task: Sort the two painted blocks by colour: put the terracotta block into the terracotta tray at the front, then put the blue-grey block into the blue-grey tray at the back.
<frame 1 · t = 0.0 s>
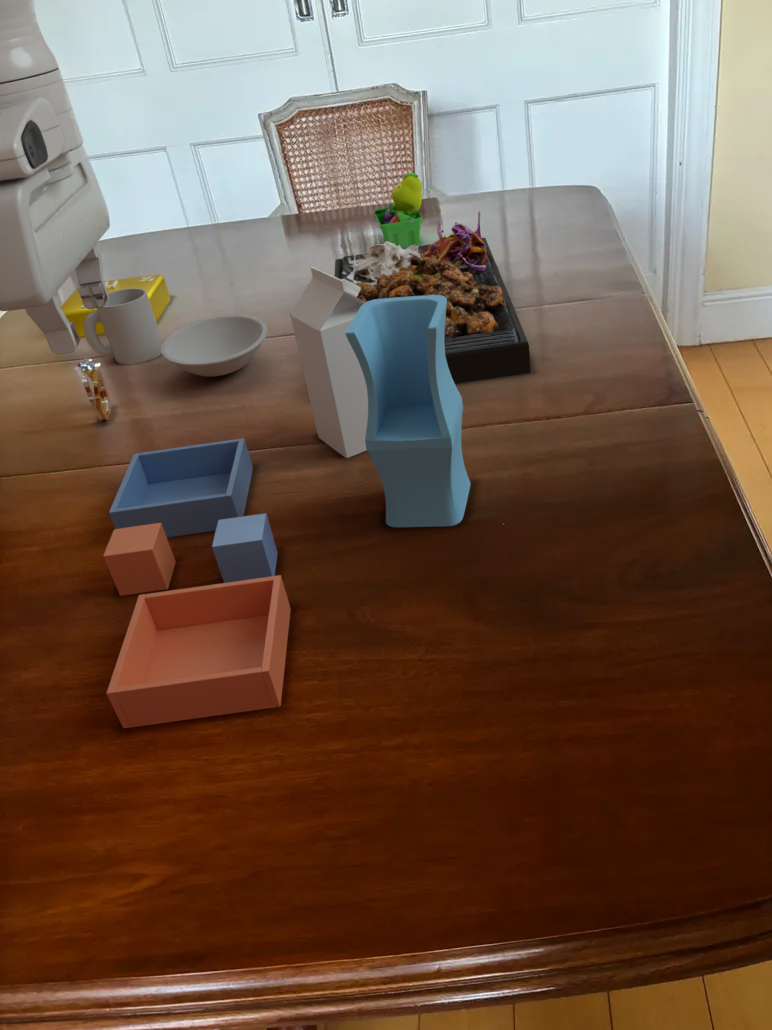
hand: (83, 326, 69), 25 cm above the table, tool pointing down, fingers open, 8 cm apart
food platter: (422, 326, 129), on the table
blue-grey tray: (191, 507, 95), on the table
ring: (108, 420, 116), on the table
cup: (132, 360, 132), on the table
terracotta block: (150, 582, 85), on the table
dish: (224, 373, 124), on the table
milk carton: (360, 441, 103), on the table
blue wingback chair: (428, 510, 89), on the table
blue-grey block: (253, 573, 84), on the table
terracotta tray: (213, 669, 74), on the table
fruit basket: (404, 243, 162), on the table
element tile: (120, 320, 147), on the table
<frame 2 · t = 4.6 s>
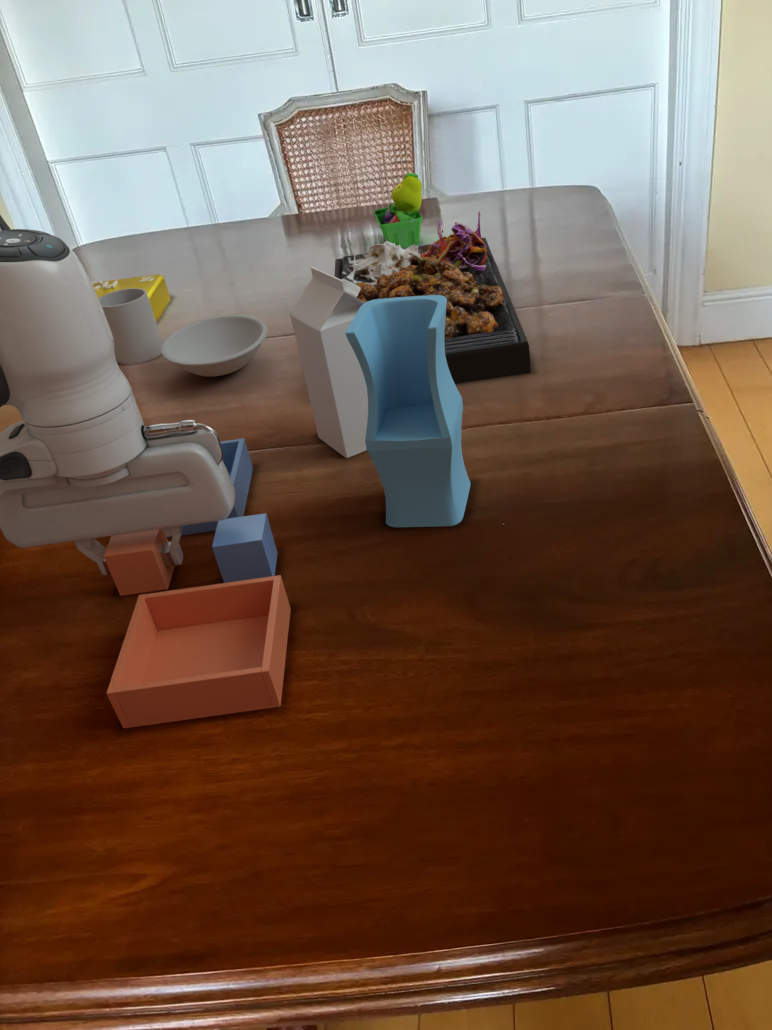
hand: (143, 567, 84), 2 cm above the table, tool pointing down, fingers closed on terracotta block, 4 cm apart
terracotta block: (150, 582, 85), on the table, touching gripper
everything else where it was.
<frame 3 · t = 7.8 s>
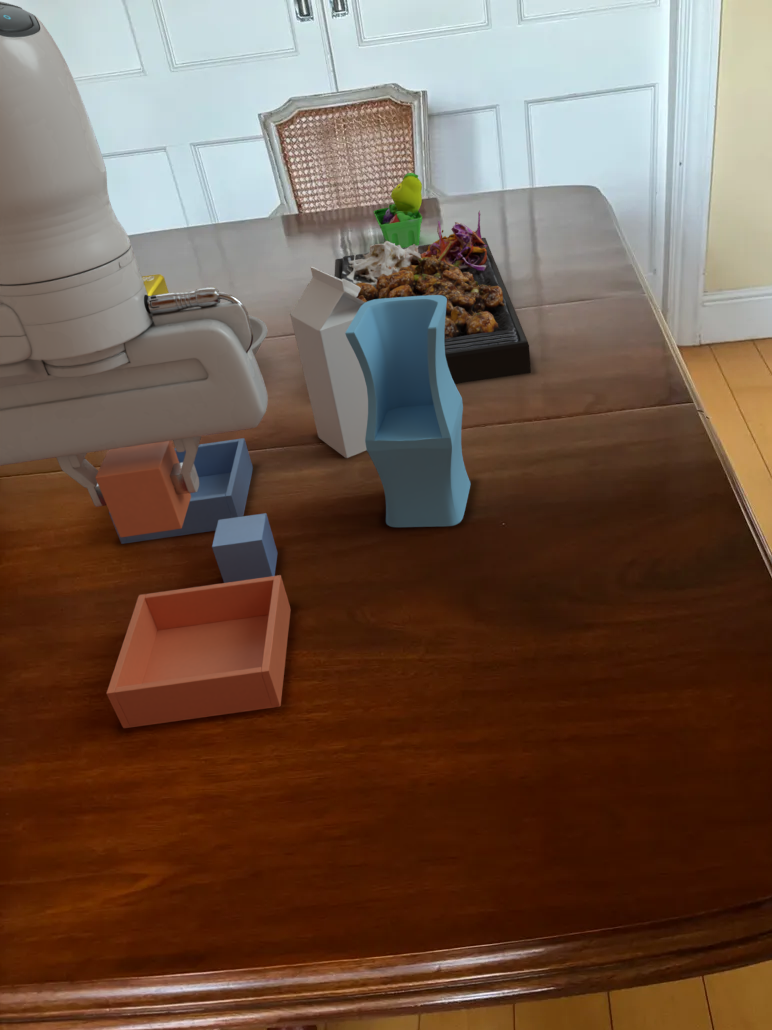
hand: (148, 495, 65), 16 cm above the table, tool pointing down, fingers closed on terracotta block, 4 cm apart
terracotta block: (156, 516, 66), point 14 cm above the table, touching gripper
everything else where it was.
when the fingers open (2 cm above the table, at t = 11.4 s): terracotta block stays where it is, resting on terracotta tray.
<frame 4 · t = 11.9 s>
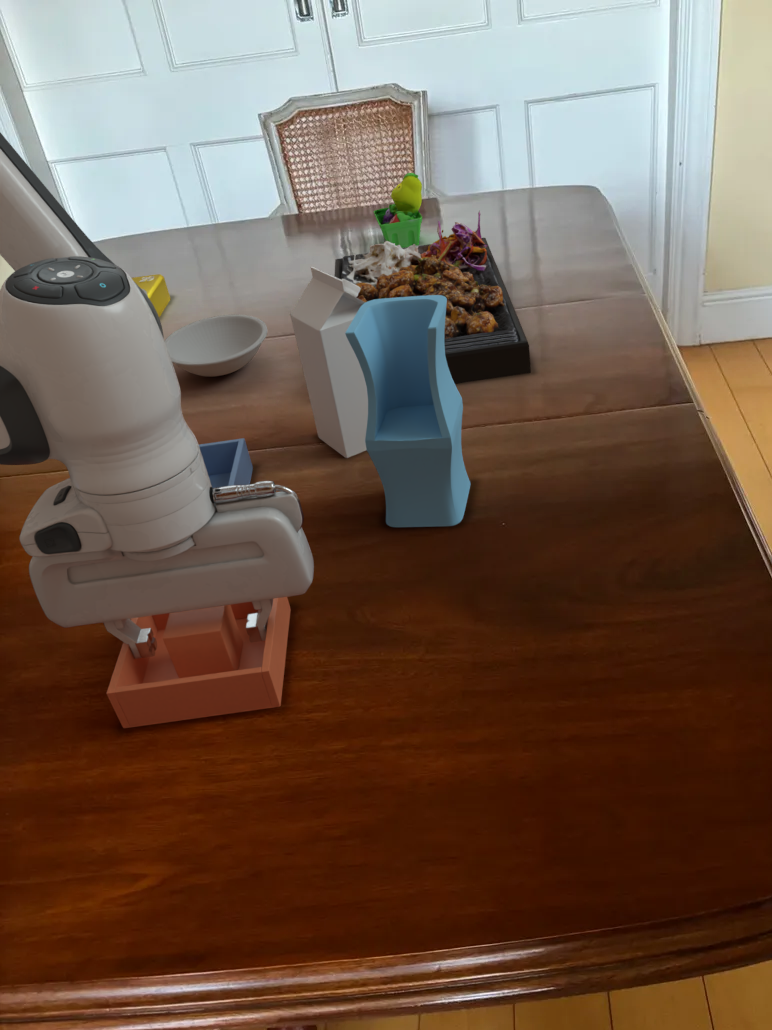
hand: (204, 644, 72), 3 cm above the table, tool pointing down, fingers open, 8 cm apart
terracotta block: (213, 663, 73), point 1 cm above the table, touching terracotta tray
everything else where it was.
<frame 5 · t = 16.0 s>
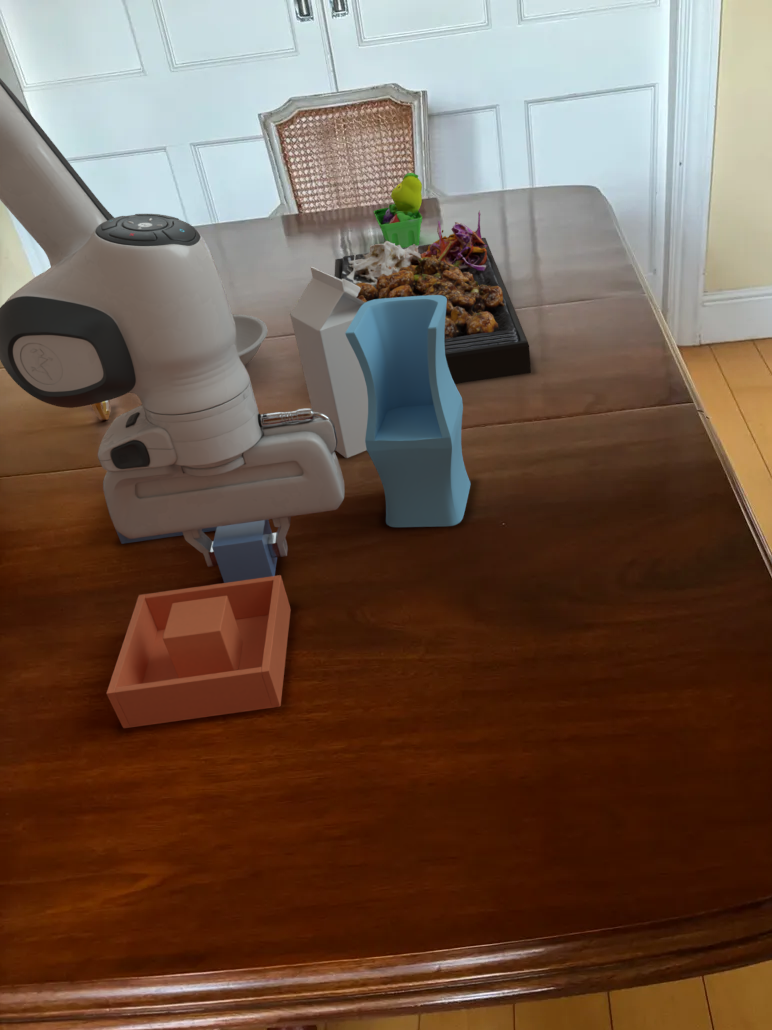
hand: (248, 558, 83), 2 cm above the table, tool pointing down, fingers closed on blue-grey block, 4 cm apart
blue-grey block: (253, 573, 84), on the table, touching gripper
everything else where it was.
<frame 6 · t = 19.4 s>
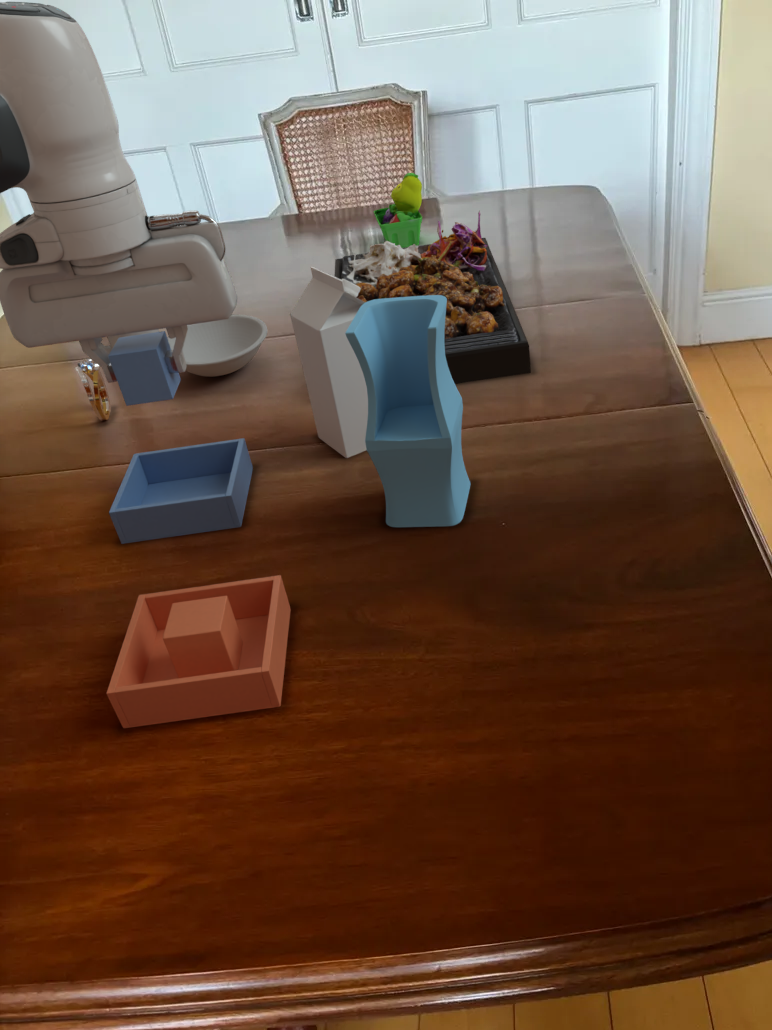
hand: (147, 375, 85), 15 cm above the table, tool pointing down, fingers closed on blue-grey block, 4 cm apart
blue-grey block: (154, 392, 86), point 13 cm above the table, touching gripper
everything else where it was.
when the fingers open (2 cm above the table, at t = 22.8 s): blue-grey block stays where it is, resting on blue-grey tray.
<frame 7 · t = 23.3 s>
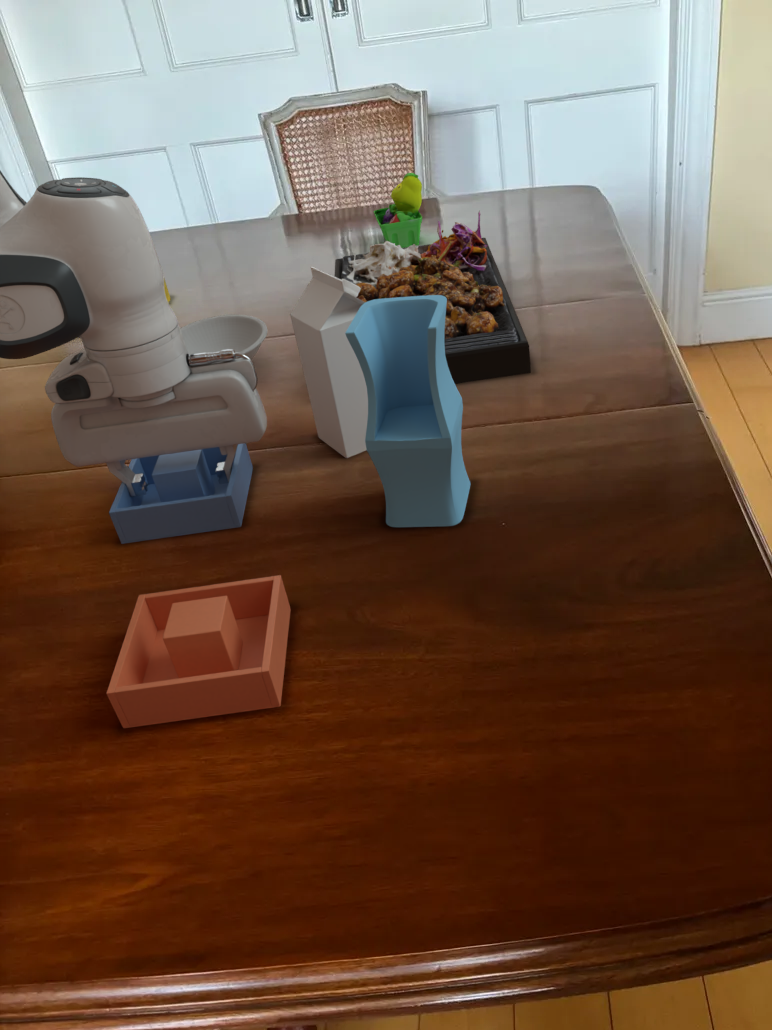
hand: (184, 487, 93), 3 cm above the table, tool pointing down, fingers open, 8 cm apart
blue-grey block: (191, 502, 95), point 1 cm above the table, touching blue-grey tray
everything else where it was.
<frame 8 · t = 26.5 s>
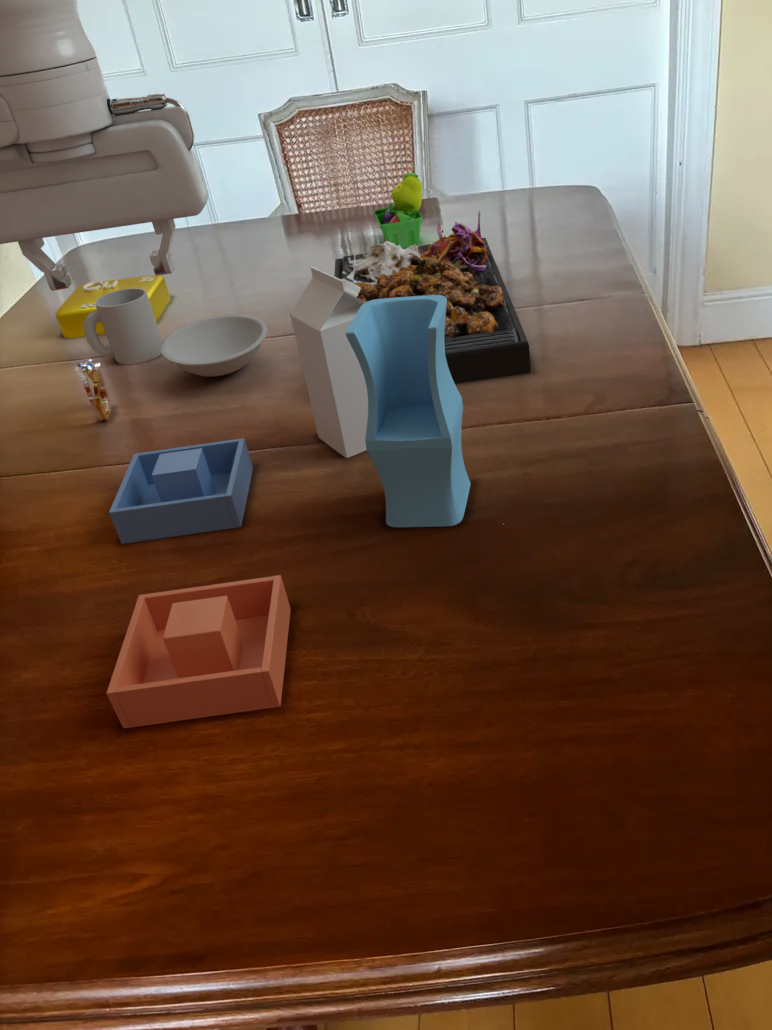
hand: (113, 280, 80), 24 cm above the table, tool pointing down, fingers open, 8 cm apart
nothing on the table moved.
at the end: terracotta block inside the target area in the terracotta tray (0.1 cm from its centre), point 0.6 cm above the terracotta tray's base; blue-grey block inside the target area in the blue-grey tray (0.1 cm from its centre), point 0.6 cm above the blue-grey tray's base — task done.
